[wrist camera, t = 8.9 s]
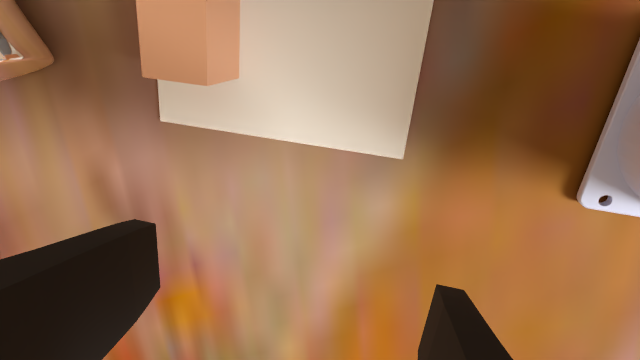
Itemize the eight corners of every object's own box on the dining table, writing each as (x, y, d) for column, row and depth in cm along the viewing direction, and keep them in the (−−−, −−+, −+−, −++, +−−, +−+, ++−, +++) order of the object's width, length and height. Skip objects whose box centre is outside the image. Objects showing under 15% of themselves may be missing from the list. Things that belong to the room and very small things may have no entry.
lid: (446, -70, 15) (459, -105, 11) (403, 154, 19) (402, 183, 15) (156, -87, 17) (88, -121, 13) (169, 118, 21) (118, 135, 17)
